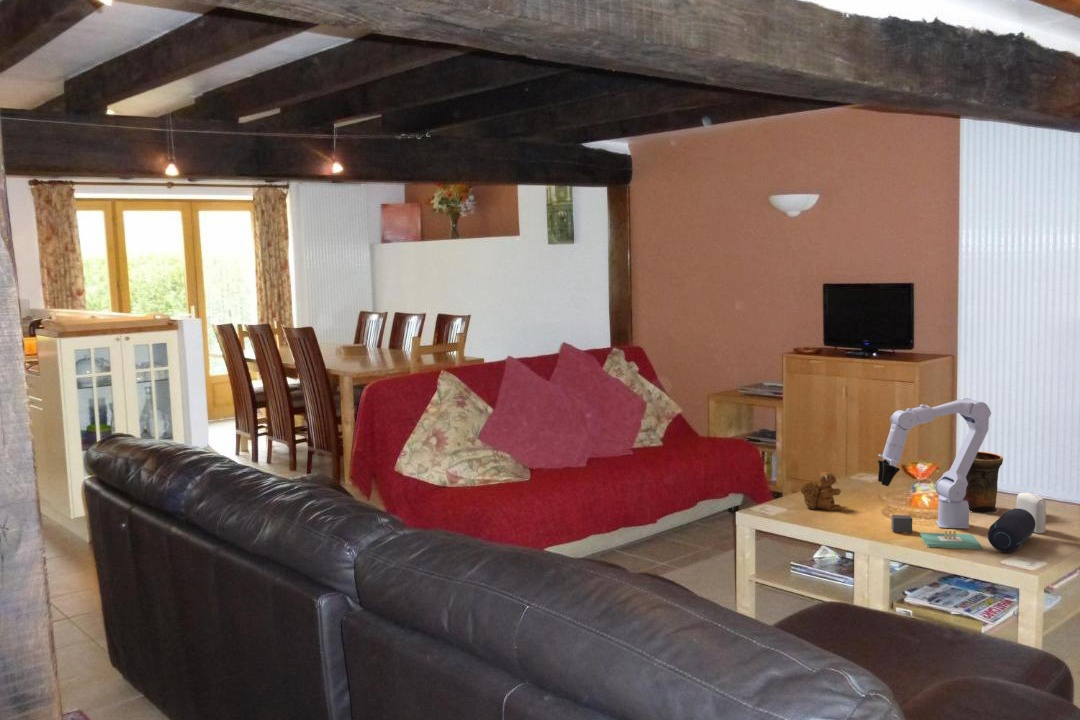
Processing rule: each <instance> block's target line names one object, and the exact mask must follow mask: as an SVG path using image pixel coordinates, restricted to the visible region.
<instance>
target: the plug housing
mask: <svg viewBox="0 0 1080 720" xmlns="http://www.w3.org/2000/svg"><path fill="white" fill-rule="evenodd" d="M890 525H891V527H890V529H892V530H891V532H892V533H893V532H907V533H906V534H913V517H912V515H908V514H907V515H906V514H905V515H903V514H891V523H890Z"/></svg>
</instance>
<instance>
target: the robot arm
mask: <svg viewBox="0 0 1080 720" xmlns="http://www.w3.org/2000/svg"><path fill="white" fill-rule="evenodd" d="M952 414H959V415H960V417H962V418H963V420H964V421H966V424H967V427H968V431H967V433H966V435H965V438H964V440H963V442H962V443H961V445H960V448H959V450H958V452H957V454H956V456H955V458H954V460H953V463H952V464H951V467H950V468H949V470H947V471H945V472H944V473H942V476H941V477H940V478H939V479H938V480H937V481H936V482H935V484H934V490H935V493H936V494H937V495H938V504H937V505H938V506H937V507H938V512H937V513H938V514H937V515H938V516H937V520H938V521H936V522H935V524H936V523H937V524H936V525H937V526H938V528H940V529H966V530H967V529H970V527H969V526H970V524H969V523H970V522H969V521H970V511H969V504H968V501H966V500H963V499H964V497H965V495H966V487H967V485H968V483H967V480H966V475H967V473H968V471H969V469H970V467H971V465H972V463H973V461H974V459H975V457H976V455H977V453H978V452H980V448H981V447H982V444H983V443H984V440H985V438H986V436H987V434H988V431H989V426H990V425H989V424H990V422H989V421H990V417H991V415H992V411H991V410H990V408H989V405H988V404H986V402H983V401H978V400H973V399H971V398H963V399H961V398H960V399H956V400H953V401H949V402H946V403H942V404H940V405H936V406H933V407H931V406H929V405H928V404H919V406H918V407H913V408H909V407H908V408H906V409H905V410H902V409H901V410H900V409H897V410H896V411H895V412H893V414H892V415H890V417H889V421H890V424H891V426H890V429H889V433H888V436H887V438H886V442H885V446H884V449H883V452H882V454H880V453H879V454H878V457H880V458H881V459H882V460H881V459H878V460H877V463H878V477H877V482H880V483H881V485H883V486H884V487H885V486H886V487H889V485H890V484H891V482H892V481H893V479H894V477H895V476H896V475H897V473H898V472H899V471H900V470H901V469H900V467H897V465H898V464H900V462H901V457H902V455H903V450H904V448H905V445H906V441H907V439H908V434H909V432H910V430H912V429H913V428H914V427H915V426H917V425H918V426H919V425H923V424H927V423H931V422H932V421H933V420H934V419H935V418H936V417H942V416H947V415H952Z"/></svg>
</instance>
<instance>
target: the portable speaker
mask: <svg viewBox="0 0 1080 720" xmlns="http://www.w3.org/2000/svg"><path fill="white" fill-rule="evenodd" d="M1035 525H1036V524H1035V519H1034V517H1033V516H1032V514H1031V513H1029V512H1028V511H1026V510H1024V509H1016V508H1012V509H1008V510H1007V511H1006V512H1004V513H1003V514H1001V516H999V517H998V519H997V520H996V521H994V522H993V523H992V524H991V526H989V528H988V531H987V539H988V542H989V544H990V545H991V546H992V547H993V548H994V549H995V550H997V551H998V552H1002V553H1012V552H1015V551H1017V550H1018V549H1020V547H1021V546H1022V545H1024V543H1025V542H1026V541H1027V540H1028V539H1029V538H1030V537H1031V536H1032V535H1033V533H1035V532H1034V529H1035Z"/></svg>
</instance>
